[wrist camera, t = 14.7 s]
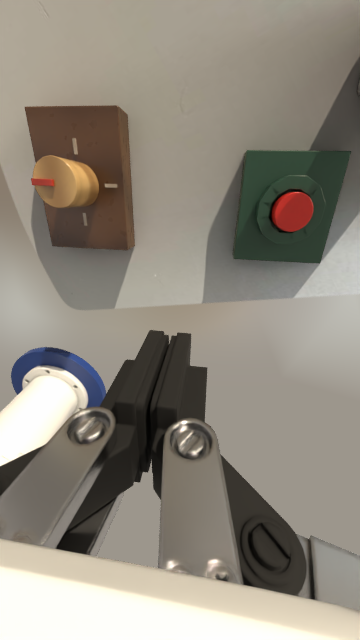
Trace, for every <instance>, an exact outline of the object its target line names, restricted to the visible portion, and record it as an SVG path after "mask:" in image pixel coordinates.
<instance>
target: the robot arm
mask: <svg viewBox="0 0 360 640" xmlns="http://www.w3.org/2000/svg"><path fill="white" fill-rule="evenodd" d="M190 348H191V334H188V333H177V336H172V337H171V341H170V344H169V336H168V335H164V332H163V331H153V330H150V331H149V333H148V335H147V337H146V339H145V341H144V343H143V345H142V347H141V349H140V351H139V353H138V355H137V357H136V359H135V360H126V361H125V362H124V364H123V365H122V367H121V369H120V371H119V372H118V374H117V376H116V378H115V380H114V381H113V383H112V385H111V387H110V389H109V390H108V392H107V394H106V396H105V398H104V399H103V401H102V403H101V405H100V406H99V407H88V408H86V407H87V404H88V395H87V392H86V389H85V387H84V386H83V384H82V383H81V382H80V381H79V380H78V379H77V378H76V377H75V376H74V375H72V374H71V373H69V372H68V371H66V370H64V369H61V368H58V367H55V366H49V365H42V366H37V367H35V368H33V369H31V370H30V371H29V372H28V373H27V374H26V375H25V376H24V378H23V383H22V387H23V390H22V391H21V392H20V393H19V394H18V395H17V396H16V397H15V398H14V399H13V400H12V401H11V402H10V403H9V404H8V405H7V406H6V407H5V408H4V409H3V410H2V411H1V412H0V640H360V556H359V555H357V554H354V553H352V552H349V551H347V550H344V549H342V548H340V547H337V546H335V545H332V544H330V543H328V542H325V541H323V540H321V539H318V538H316V537H313V536H310V538H309V539H307V538H305V537H303V536H300V535H297V534H295V532H294V531H293V530H292V528H291V527H290V526H289V525H288V523H287V522H286V521H285V520H284V519H283V518H282V517H280V515H279V514H278V513H277V512H276V511H275V510H274V509H273V508H272V507H271V506H270V505H269V504H268V503H267V502H266V501H265V500H264V499H263V498H262V497H261V496H260V495H259V494H258V493H257V491H256V490H255V489H254V488H253V487H252V486H251V485H250V484H249V483H248V482H247V481H246V480H245V479H244V478H243V477H242V476H241V475H240V474H239V473H238V472H237V471H236V470H235V469H234V468H233V467H232V466H231V465H230V464H229V463H228V462H227V461H226V460H225V458H224V457H223V456H221V454H220V450H219V444H218V439H217V436H216V434H215V431H214V430H213V429H212V428H211V426H209V425H208V424H206V423H205V402H206V382H207V368H206V367H196V366H190ZM151 459H152V473H153V487H154V490H155V492H156V493H157V495H158V496H159V498H160V499H161V511H160V534H159V556H158V568H153V567H148V566H143V565H138V564H133V563H127V562H122V561H117V560H112V559H106V558H101V557H96V556H97V554H98V552H99V550H100V547H101V545H102V543H103V541H104V539H105V536H106V534H107V532H108V530H109V528H110V525H111V523H112V521H113V519H114V517H115V515H116V512H117V510H118V508H119V505H120V503H121V501H122V498H123V495H124V491H125V490H127V489H128V488H130V487H131V486H133V483H134V482H140V480H141V476H142V473H143V472H148V471H149V467H150V463H151Z"/></svg>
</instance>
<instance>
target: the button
mask: <svg viewBox="0 0 360 640" xmlns="http://www.w3.org/2000/svg"><path fill="white" fill-rule="evenodd" d="M312 214H313V203H312V200H311V198H310V197H309V196H308V195H306V194H305V193H302V192H290V193H286V194H284V195H282V196H281V197H280V198H279V199H278V200H277V201H276V202H275V204H274V206H273V208H272V213H271V216H272V220H273V223H274V224H275V225H276V226H277V227H278V228H280V229H282V230H284V231H288V232H293V231H297V230H300V229H301V228H303V227H304V226H305V225H306V224H307V223H308V222H309V221H310V219H311V217H312Z"/></svg>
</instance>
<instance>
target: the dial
mask: <svg viewBox="0 0 360 640" xmlns="http://www.w3.org/2000/svg"><path fill="white" fill-rule="evenodd" d="M31 181H32V185H35V188H36V190H37V192H38V194H39V196H40V197H41V198H42V199H43V200H44V201H45V202H46V203H47V204H49V205H50V206H53V207H55V208H70V207H84V206H89V205H91V204H92V203H94V201H95V200H96V199H97V196H98V193H99V183H98V180H97V177H96V175H95V173H94V172H93V170H92V169H91V168H90V167H89V166H87V165H86V164H84V163H81V162H77V161H73V160H69V159H65V158H61V157H57V156H52V155H49V156H44V157H42V158H41V159H40V160H38V162H37V163H36V165H35V167H34V171H33V178H31Z"/></svg>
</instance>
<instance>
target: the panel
mask: <svg viewBox="0 0 360 640" xmlns="http://www.w3.org/2000/svg"><path fill="white" fill-rule="evenodd" d="M25 111H26V116H27V121H28V126H29V131H30V136H31V141H32V146H33V151H34V156H35V161H36V163H37V162H38V160H40V159H41V158H42V157H44V156H49V155H52V156H57V157H61V158H65V159H69V160H73V161H77V162H81V163H84V164H86V165H87V166H89V167H90V168H91V169H92V170H93V172H94V173H95V175H96V177H97V180H98V183H99V193H98V196H97V199H96V200H95V201H94V203H92V204H91V205H89V206H84V207H70V208H55V207H53V206H50V205H49V204H47V203H46V202H45V201H44V200H43V201H44V206H45V211H46V216H47V221H48V226H49V231H50V236H51V241H52V246H57V247H76V248H94V249H113V250H129V249H130V248H132V247H134V246H135V241H134V223H133V205H132V187H131V169H130V151H129V133H128V115H127V114H126V113H125V112H124V111H123V110H122V109H121V108H120V107H119V106H41V107H25Z"/></svg>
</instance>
